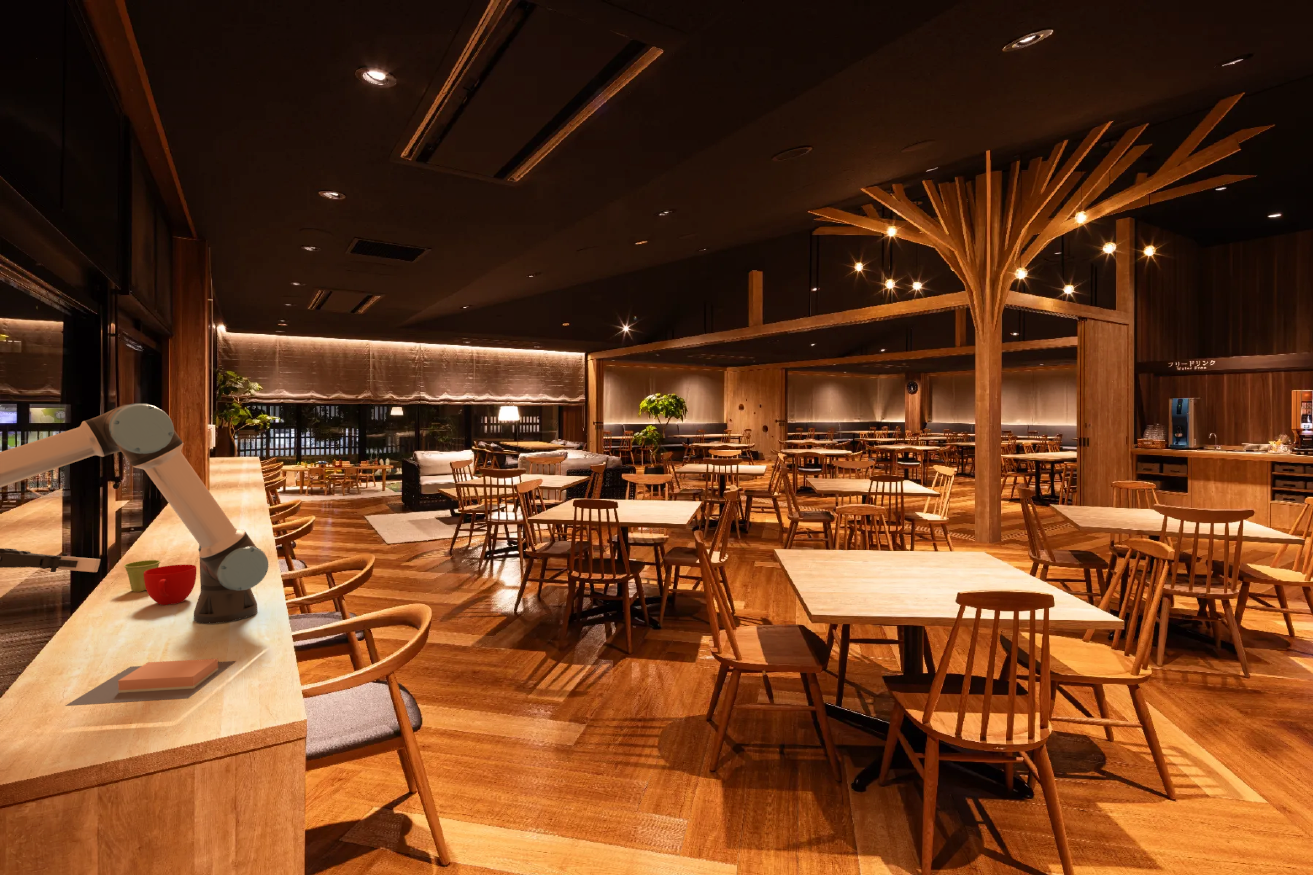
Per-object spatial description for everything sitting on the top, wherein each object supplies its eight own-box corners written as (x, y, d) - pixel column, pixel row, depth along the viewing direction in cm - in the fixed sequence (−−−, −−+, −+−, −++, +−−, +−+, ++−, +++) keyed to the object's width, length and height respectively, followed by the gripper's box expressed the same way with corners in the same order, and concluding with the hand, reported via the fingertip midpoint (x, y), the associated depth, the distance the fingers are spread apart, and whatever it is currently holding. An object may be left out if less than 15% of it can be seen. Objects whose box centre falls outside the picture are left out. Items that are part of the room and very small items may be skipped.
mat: (65, 708, 130) (65, 705, 130) (130, 669, 150) (130, 666, 150) (188, 701, 133) (188, 698, 133) (236, 663, 153) (236, 660, 153)
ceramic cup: (134, 614, 191) (133, 579, 190) (151, 598, 206) (150, 566, 206) (188, 608, 196) (187, 574, 196) (201, 594, 212) (200, 562, 211)
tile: (118, 680, 136) (193, 676, 138) (148, 662, 146) (217, 658, 148) (118, 692, 136) (193, 688, 138) (148, 673, 146) (218, 669, 148)
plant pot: (146, 593, 212) (145, 566, 212) (117, 593, 213) (116, 566, 212) (168, 585, 222) (167, 559, 221) (140, 585, 222) (139, 559, 222)
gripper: (-18, 572, 144) (108, 582, 149) (-65, 574, 132) (75, 584, 137) (-8, 537, 145) (117, 548, 151) (-53, 535, 133) (84, 547, 139)
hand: (97, 565), depth 144 cm, fingers closed
